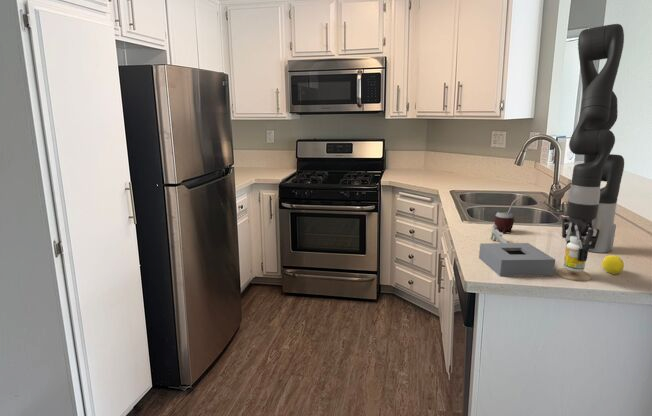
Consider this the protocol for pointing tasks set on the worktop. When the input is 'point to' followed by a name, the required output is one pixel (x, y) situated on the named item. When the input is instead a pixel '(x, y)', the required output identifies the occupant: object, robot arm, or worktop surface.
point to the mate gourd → (505, 220)
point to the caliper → (497, 235)
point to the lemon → (613, 264)
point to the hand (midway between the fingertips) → (575, 257)
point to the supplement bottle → (573, 255)
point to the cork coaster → (573, 275)
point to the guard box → (516, 259)
